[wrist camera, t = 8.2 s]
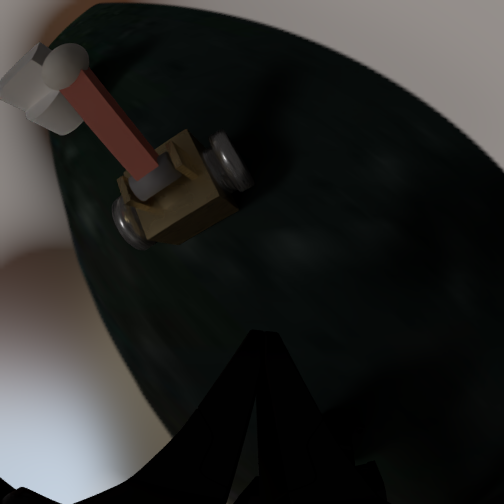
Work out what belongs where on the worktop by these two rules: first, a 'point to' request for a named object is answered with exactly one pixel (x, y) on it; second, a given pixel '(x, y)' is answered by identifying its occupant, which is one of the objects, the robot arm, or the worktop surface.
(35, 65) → the base with upright slab
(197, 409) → the robot arm
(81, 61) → the valve lever
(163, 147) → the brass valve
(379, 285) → the worktop surface
